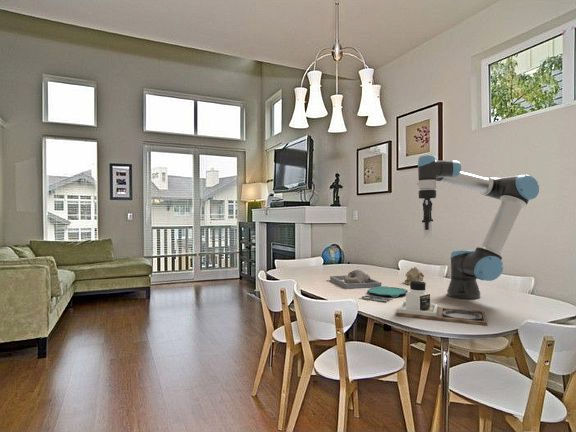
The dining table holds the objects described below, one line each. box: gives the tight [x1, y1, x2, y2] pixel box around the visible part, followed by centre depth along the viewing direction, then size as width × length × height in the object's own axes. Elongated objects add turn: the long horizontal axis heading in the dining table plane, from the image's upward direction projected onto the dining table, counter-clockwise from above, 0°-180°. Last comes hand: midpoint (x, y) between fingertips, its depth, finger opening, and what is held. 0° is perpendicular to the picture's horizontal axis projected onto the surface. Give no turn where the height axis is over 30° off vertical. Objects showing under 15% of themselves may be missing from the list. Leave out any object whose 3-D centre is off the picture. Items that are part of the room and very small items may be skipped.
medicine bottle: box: [405, 280, 431, 311], centre depth 159 cm, size 7×7×12 cm
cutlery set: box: [358, 285, 409, 304], centre depth 192 cm, size 20×30×2 cm, turn 141°
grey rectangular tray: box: [329, 274, 382, 290], centre depth 225 cm, size 21×28×2 cm
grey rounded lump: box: [343, 269, 371, 284], centre depth 222 cm, size 16×9×15 cm
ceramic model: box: [404, 266, 427, 286], centre depth 222 cm, size 14×11×10 cm
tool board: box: [395, 300, 488, 326], centre depth 155 cm, size 33×18×2 cm, turn 66°
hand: (427, 236), depth 171 cm, fingers open, 13 cm apart
